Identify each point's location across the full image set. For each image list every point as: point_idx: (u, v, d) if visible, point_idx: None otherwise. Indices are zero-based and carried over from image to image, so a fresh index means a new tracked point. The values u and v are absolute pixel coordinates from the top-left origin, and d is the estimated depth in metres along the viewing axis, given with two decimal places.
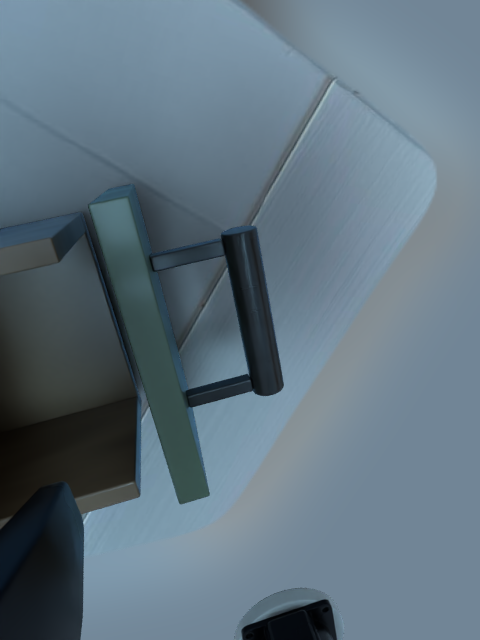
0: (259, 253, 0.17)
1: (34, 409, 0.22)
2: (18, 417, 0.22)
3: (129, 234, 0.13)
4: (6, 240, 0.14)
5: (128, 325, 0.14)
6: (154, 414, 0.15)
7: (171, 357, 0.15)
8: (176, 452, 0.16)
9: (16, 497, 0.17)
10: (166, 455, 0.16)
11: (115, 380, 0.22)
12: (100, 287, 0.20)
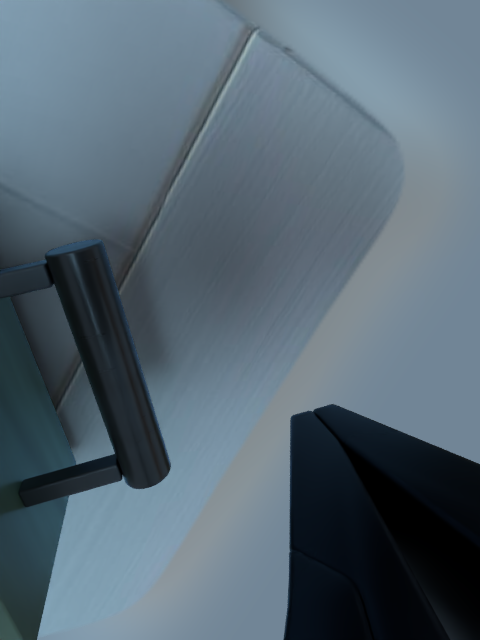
0: (107, 283, 0.11)
1: None
2: None
3: None
4: None
5: None
6: None
7: None
8: None
9: None
10: None
11: None
12: None
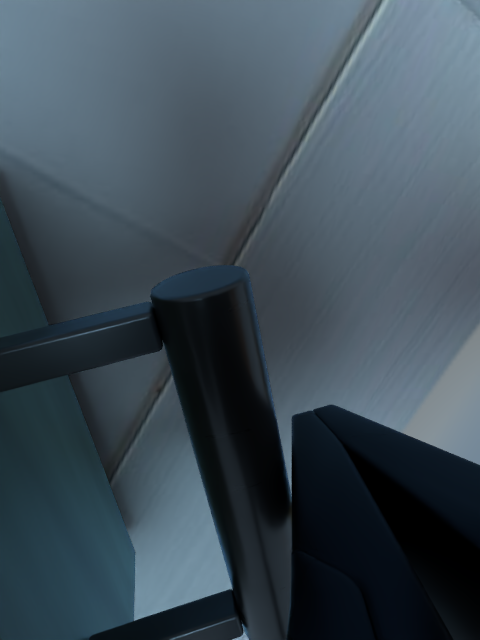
0: (256, 343, 0.06)
1: None
2: None
3: None
4: None
5: None
6: None
7: None
8: None
9: None
10: None
11: None
12: None
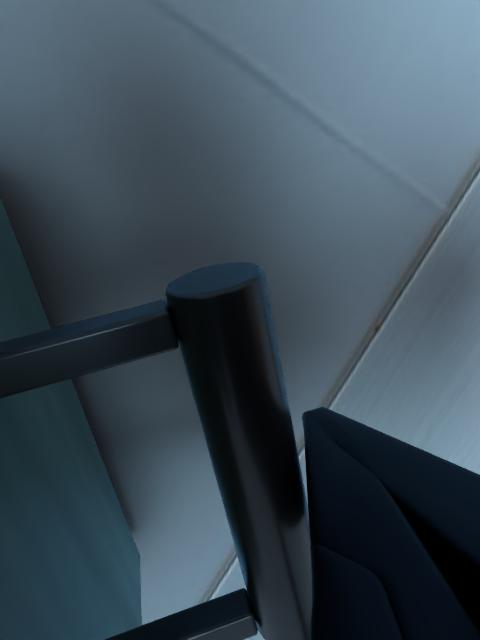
0: (272, 340, 0.06)
1: None
2: None
3: None
4: None
5: None
6: None
7: None
8: None
9: None
10: None
11: None
12: None
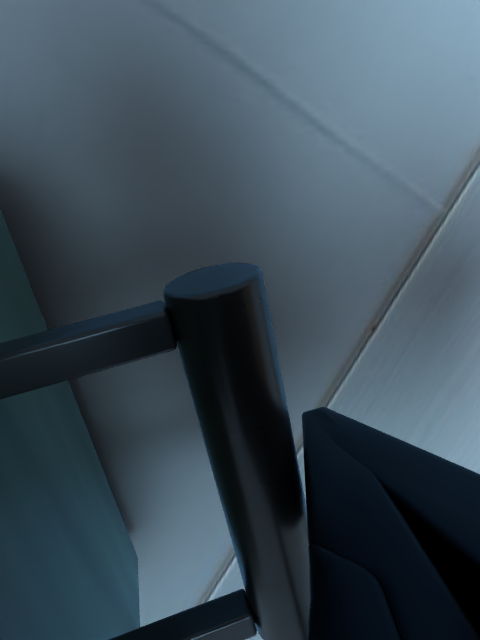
0: (270, 340, 0.06)
1: None
2: None
3: None
4: None
5: None
6: None
7: None
8: None
9: None
10: None
11: None
12: None
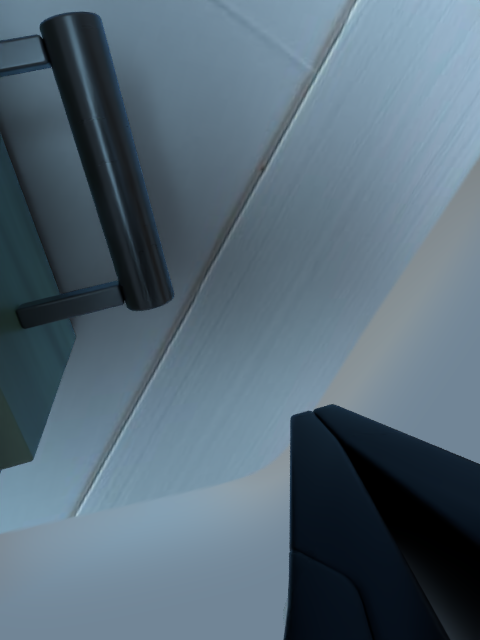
0: (105, 61, 0.10)
1: None
2: None
3: None
4: None
5: None
6: None
7: None
8: None
9: None
10: None
11: None
12: None
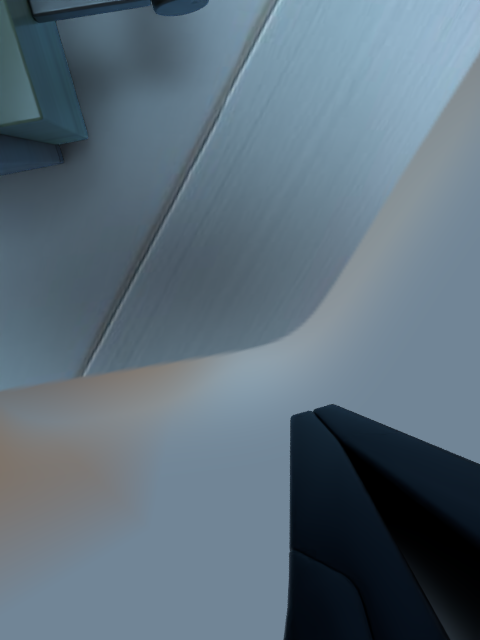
0: None
1: None
2: None
3: None
4: None
5: None
6: None
7: None
8: None
9: None
10: None
11: None
12: None
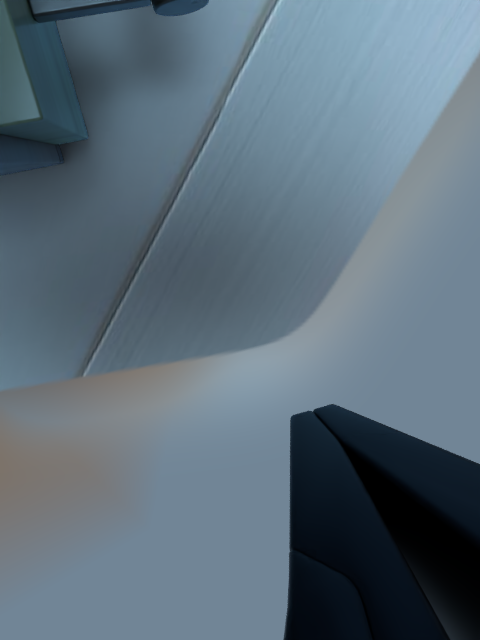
0: None
1: None
2: None
3: None
4: None
5: None
6: None
7: None
8: None
9: None
10: None
11: None
12: None
